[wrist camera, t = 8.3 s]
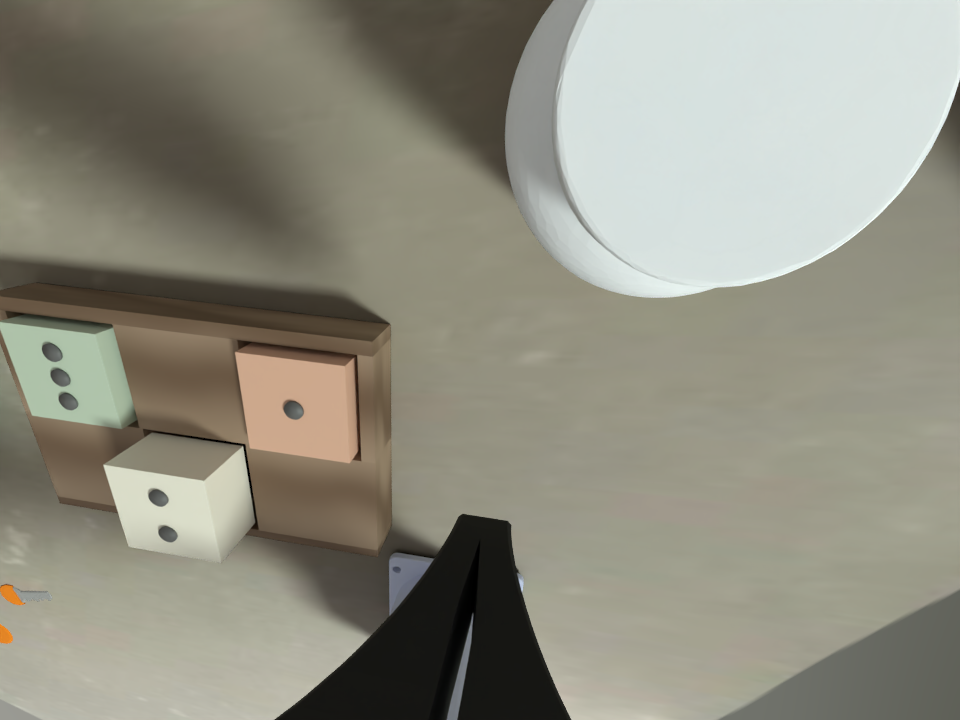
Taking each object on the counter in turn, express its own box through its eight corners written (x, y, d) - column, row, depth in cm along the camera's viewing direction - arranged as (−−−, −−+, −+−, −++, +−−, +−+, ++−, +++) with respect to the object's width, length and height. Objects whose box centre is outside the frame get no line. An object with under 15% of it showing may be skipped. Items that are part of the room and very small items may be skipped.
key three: (165, 402, 25) (119, 430, 22) (84, 390, 25) (29, 416, 23) (145, 315, 23) (92, 335, 20) (57, 305, 23) (-6, 322, 21)
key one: (371, 431, 24) (348, 464, 21) (281, 419, 24) (248, 449, 21) (368, 343, 22) (343, 367, 19) (271, 331, 22) (233, 353, 19)
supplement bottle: (491, 154, 18) (373, 93, 6) (630, 9, 16) (875, -546, 4) (597, 279, 19) (673, 433, 7) (742, 161, 17) (1203, 101, 5)
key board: (391, 525, 26) (377, 557, 24) (98, 477, 28) (60, 503, 26) (390, 324, 21) (372, 341, 19) (34, 282, 23) (-19, 294, 21)
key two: (255, 522, 25) (219, 565, 22) (171, 508, 25) (126, 548, 22) (242, 446, 23) (202, 482, 20) (152, 432, 23) (100, 466, 20)
